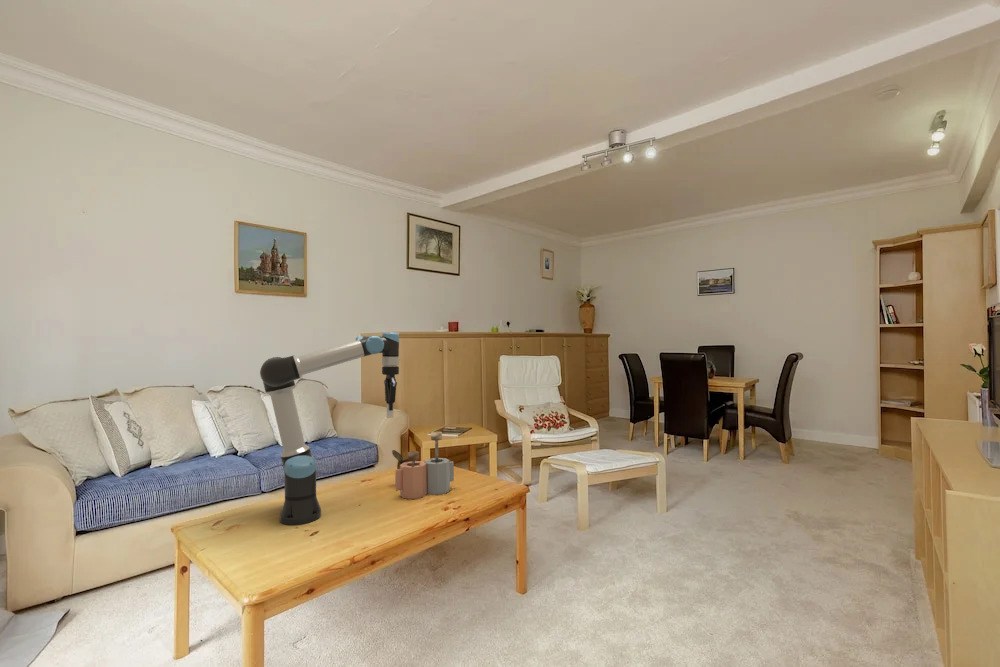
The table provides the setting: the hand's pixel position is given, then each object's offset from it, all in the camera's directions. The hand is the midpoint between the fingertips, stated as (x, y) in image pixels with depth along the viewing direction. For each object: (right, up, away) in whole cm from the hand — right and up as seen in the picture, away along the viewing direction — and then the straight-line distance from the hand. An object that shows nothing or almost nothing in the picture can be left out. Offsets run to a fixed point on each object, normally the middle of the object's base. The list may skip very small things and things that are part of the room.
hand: (390, 417), depth 219 cm
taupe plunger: (+11, -32, -2) cm, 34 cm away
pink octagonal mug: (+10, -35, -3) cm, 37 cm away
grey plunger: (+21, -24, +4) cm, 32 cm away
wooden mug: (+4, -36, +15) cm, 39 cm away
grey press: (+22, -35, +4) cm, 42 cm away
